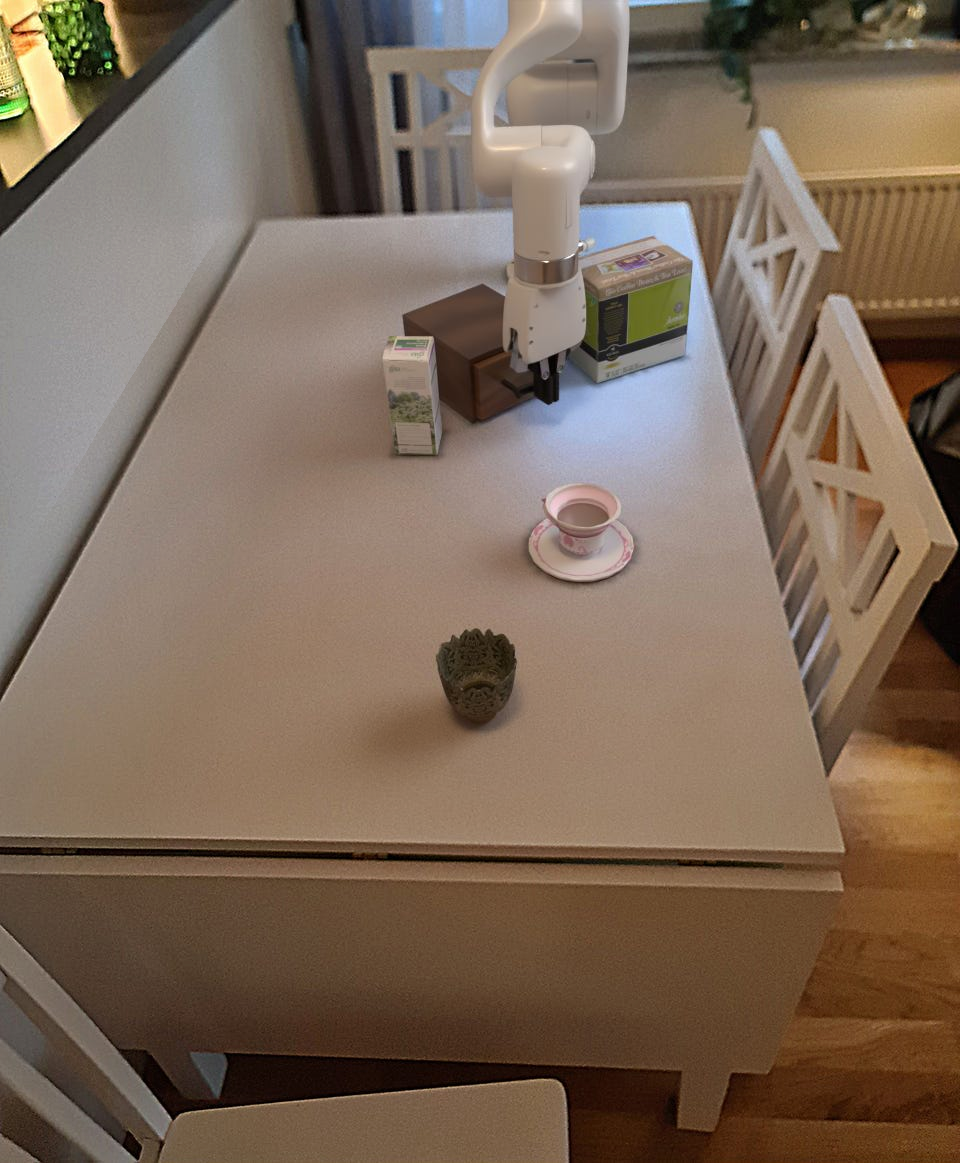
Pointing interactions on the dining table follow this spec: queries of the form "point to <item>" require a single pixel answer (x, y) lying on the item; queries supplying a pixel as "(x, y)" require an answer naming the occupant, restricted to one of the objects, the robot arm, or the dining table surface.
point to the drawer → (499, 385)
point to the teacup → (581, 534)
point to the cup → (477, 673)
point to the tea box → (633, 308)
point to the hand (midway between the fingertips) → (546, 398)
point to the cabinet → (460, 340)
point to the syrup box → (413, 394)
